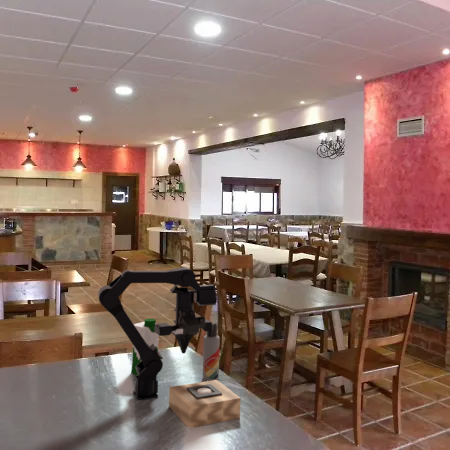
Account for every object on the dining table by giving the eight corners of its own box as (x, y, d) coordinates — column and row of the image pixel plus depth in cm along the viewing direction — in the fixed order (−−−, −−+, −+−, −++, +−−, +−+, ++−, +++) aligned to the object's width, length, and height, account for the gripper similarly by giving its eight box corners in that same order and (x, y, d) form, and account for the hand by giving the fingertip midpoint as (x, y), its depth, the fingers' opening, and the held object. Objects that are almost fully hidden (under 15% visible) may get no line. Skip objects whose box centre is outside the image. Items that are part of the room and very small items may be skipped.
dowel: (200, 412, 143) (200, 393, 142) (194, 407, 146) (195, 389, 146) (212, 410, 145) (213, 391, 144) (207, 405, 148) (207, 387, 148)
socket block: (189, 428, 135) (189, 404, 134) (169, 406, 149) (169, 385, 149) (239, 418, 142) (240, 395, 142) (216, 398, 156) (216, 378, 156)
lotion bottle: (216, 381, 171) (218, 325, 170) (200, 380, 172) (202, 324, 171) (220, 376, 176) (221, 321, 175) (204, 375, 177) (206, 320, 177)
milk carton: (144, 379, 171) (146, 323, 171) (127, 373, 177) (128, 319, 176) (162, 372, 178) (163, 318, 178) (144, 367, 184) (145, 315, 183)
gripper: (166, 313, 148) (164, 364, 149) (221, 308, 157) (219, 356, 157) (154, 306, 158) (153, 353, 159) (206, 302, 166) (205, 347, 167)
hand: (183, 353), depth 160 cm, fingers closed
